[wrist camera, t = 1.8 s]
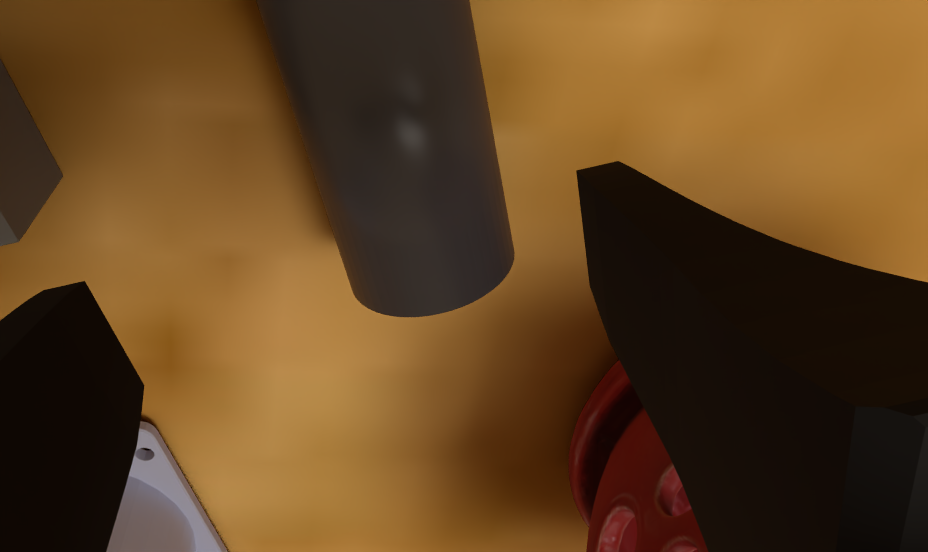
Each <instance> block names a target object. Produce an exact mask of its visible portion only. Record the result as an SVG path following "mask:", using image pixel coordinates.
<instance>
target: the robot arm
mask: <svg viewBox="0 0 928 552" xmlns="http://www.w3.org/2000/svg"><path fill="white" fill-rule="evenodd" d="M576 172H577V180H578V189H579V197H580V206H581V214H582V223H583V232H584V240H585V249H586V257H587V266H588V274H589V283H590V288H591V291H592V293H593V296H594V299H595V302H596V305H597V308H598V311H599V314H600V316H601V319H602V322H603V325H604V327H605V330H606V333H607V336H608V338H609V341H610V343H611V345H612V347H613V349H614V351H615V353H616V355H617V357H618V358H619V360H620V362H621V364H622V366H623V368H624V370H625V372H626V374H627V376H628V378H629V380H630V382H631V384H632V386H633V388H634V389H635V391H636V393H637V395H638V397H639V399H640V401H641V403H642V405H643V407H644V409H645V411H646V412H647V414H648V416H649V418H650V420H651V422H652V424H653V426H654V428H655V430H656V432H657V434H658V436H659V437H660V439H661V441H662V443H663V445H664V447H665V449H666V451H667V453H668V455H669V457H670V459H671V461H672V463H673V465H674V468H675V470H676V472H677V474H678V476H679V478H680V481H681V483H682V485H683V488H684V490H685V493H686V495H687V498H688V501H689V503H690V506H691V508H692V511H693V513H694V516H695V519H696V521H697V524H698V526H699V529H700V531H701V534H702V537H703V539H704V542H705V544H706V547H707V550H708V552H928V282H923V281H918V280H914V279H909V278H905V277H901V276H897V275H893V274H889V273H885V272H880V271H876V270H872V269H868V268H864V267H861V266H857V265H853V264H850V263H846V262H843V261H839V260H836V259H833V258H830V257H827V256H824V255H821V254H818V253H815V252H812V251H809V250H806V249H803V248H800V247H797V246H794V245H791V244H788V243H786V242H783V241H780V240H778V239H775V238H772V237H770V236H767V235H765V234H763V233H760V232H758V231H756V230H753V229H751V228H749V227H746V226H744V225H742V224H739V223H737V222H735V221H733V220H730V219H728V218H726V217H724V216H722V215H720V214H718V213H716V212H714V211H711V210H709V209H707V208H705V207H703V206H701V205H699V204H698V203H696V202H694V201H692V200H690V199H688V198H686V197H684V196H682V195H680V194H678V193H677V192H675V191H673V190H671V189H669V188H667V187H666V186H664V185H662V184H660V183H658V182H657V181H655V180H653V179H651V178H649V177H648V176H646V175H644V174H642V173H640V172H639V171H637V170H635V169H633V168H631V167H629V166H627V165H625V164H623V163H621V162H619V161H617V162H612V163H608V164H603V165H599V166H594V167H590V168H585V169H581V170H577V171H576ZM143 392H144V384H143V382H142V381H141V379H140V377H139V375H138V374H137V372H136V370H135V368H134V367H133V365H132V363H131V361H130V360H129V358H128V356H127V354H126V353H125V351H124V349H123V347H122V346H121V344H120V342H119V340H118V339H117V337H116V335H115V333H114V332H113V330H112V328H111V326H110V325H109V323H108V321H107V319H106V318H105V316H104V314H103V312H102V311H101V309H100V307H99V305H98V304H97V302H96V300H95V298H94V296H93V295H92V293H91V291H90V289H89V288H88V286H87V284H86V282H85V281H83V282H78V283H74V284H69V285H65V286H61V287H56V288H52V289H47V290H43V291H42V292H40V293H38V294H37V295H35V296H33V297H32V298H30V299H29V300H27V301H26V302H24V303H23V304H22V305H20V306H19V307H18V308H16V309H15V310H14V311H12V312H11V313H10V314H8V315H7V316H6V317H4V318H3V319H2V320H1V321H0V552H228V551H227V549H226V548H225V546H224V544H223V543H222V541H221V539H220V537H219V536H218V534H217V532H216V530H215V529H214V527H213V525H212V524H211V522H210V520H209V518H208V517H207V515H206V513H205V512H204V510H203V508H202V506H201V505H200V503H199V501H198V499H197V498H196V496H195V494H194V493H193V491H192V489H191V487H190V486H189V484H188V482H187V481H186V479H185V477H184V475H183V474H182V472H181V470H180V468H179V467H178V465H177V463H176V462H175V460H174V458H173V456H172V455H171V453H170V451H169V450H168V448H167V446H166V444H165V443H164V441H163V439H162V437H161V436H160V434H159V432H158V431H157V429H156V428H155V427H154V426H153V425H151V424H149V423H147V422H143V421H141V412H142V402H143ZM141 448H148V449H151V451H146V450H143V449H141Z"/></svg>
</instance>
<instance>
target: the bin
mask: <svg viewBox="0 0 928 552" xmlns="http://www.w3.org/2000/svg"><path fill="white" fill-rule="evenodd" d="M62 177H63V175H62V173H61V171H60V169H59V167H58V166H57V164H56V162H55V160H54V158H53V156H52V154H51V152H50V151H49V149H48V147H47V145H46V143H45V141H44V139H43V138H42V136H41V134H40V132H39V130H38V128H37V126H36V125H35V123H34V121H33V119H32V117H31V115H30V113H29V112H28V110H27V108H26V106H25V104H24V102H23V100H22V98H21V97H20V95H19V93H18V91H17V89H16V87H15V85H14V84H13V82H12V80H11V78H10V76H9V74H8V72H7V71H6V69H5V67H4V65H3V63H2V61H1V59H0V246H3V245H7V244H11V243H16V242H19V241H20V239H21V238H22V237H23V235H24V234H25V232H26V231H27V229H28V228H29V226H30V225H31V223H32V222H33V220H34V219H35V217H36V216H37V214H38V213H39V211H40V210H41V208H42V207H43V205H44V204H45V202H46V201H47V200H48V198H49V197H50V195H51V194H52V192H53V191H54V189H55V188H56V186H57V185H58V183H59V182H60V180H61V179H62Z"/></svg>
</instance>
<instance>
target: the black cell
mask: <svg viewBox="0 0 928 552" xmlns="http://www.w3.org/2000/svg"><path fill="white" fill-rule="evenodd" d="M256 2H257V5H258V8H259V11H260V14H261V17H262V20H263V23H264V26H265V29H266V32H267V35H268V38H269V41H270V44H271V47H272V50H273V53H274V56H275V59H276V62H277V65H278V68H279V71H280V74H281V77H282V80H283V83H284V86H285V89H286V92H287V95H288V98H289V101H290V104H291V107H292V110H293V113H294V116H295V119H296V122H297V125H298V128H299V131H300V134H301V137H302V140H303V143H304V146H305V149H306V152H307V155H308V158H309V161H310V164H311V167H312V170H313V173H314V176H315V180H316V183H317V186H318V189H319V192H320V195H321V198H322V201H323V204H324V207H325V210H326V213H327V216H328V219H329V222H330V225H331V228H332V231H333V234H334V237H335V240H336V243H337V246H338V249H339V252H340V255H341V258H342V261H343V264H344V267H345V270H346V273H347V276H348V279H349V282H350V285H351V288H352V291H353V294H354V295H355V297H356V298H357V300H358V301H359V302H360V303H361V304H362V305H364V306H365V307H367V308H369V309H371V310H373V311H375V312H378V313H381V314H384V315H390V316H397V317H422V316H430V315H436V314H440V313H444V312H448V311H452V310H455V309H457V308H460V307H463V306H465V305H468V304H470V303H472V302H474V301H476V300H478V299H479V298H481V297H483V296H484V295H486V294H487V293H489V292H490V291H492V290H493V289H494V288H495V287H496V286H498V285H499V284H500V283H501V282H502V281H503V279H504V278H505V277H506V276H507V274H508V273H509V271H510V269H511V267H512V265H513V261H514V247H513V242H512V236H511V231H510V225H509V219H508V214H507V208H506V203H505V197H504V191H503V186H502V180H501V175H500V169H499V164H498V158H497V152H496V147H495V141H494V136H493V130H492V125H491V119H490V113H489V108H488V102H487V97H486V91H485V86H484V80H483V74H482V69H481V63H480V58H479V52H478V46H477V41H476V35H475V30H474V24H473V19H472V13H471V7H470V2H469V0H256Z"/></svg>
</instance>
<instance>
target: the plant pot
mask: <svg viewBox="0 0 928 552" xmlns="http://www.w3.org/2000/svg"><path fill="white" fill-rule="evenodd" d="M569 479H570V486H571V490H572V494H573V497H574V501H575V503H576V506H577V508H578V510H579V512H580V514H581V516H582V518H583V520H584V521H585V523H586V524H587V525H588V527H589V532H588V542H587V551H586V552H708V550H707V547H706V544H705V542H704V539H703V537H702V534H701V531H700V529H699V526H698V524H697V521H696V519H695V516H694V513H693V511H692V508H691V506H690V503H689V501H688V498H687V495H686V493H685V490H684V488H683V485H682V483H681V481H680V478H679V476H678V474H677V472H676V470H675V468H674V465H673V463H672V461H671V459H670V457H669V455H668V453H667V451H666V449H665V447H664V445H663V443H662V441H661V439H660V437H659V436H658V434H657V432H656V430H655V428H654V426H653V424H652V422H651V420H650V418H649V416H648V414H647V412H646V411H645V409H644V407H643V405H642V403H641V401H640V399H639V397H638V395H637V393H636V391H635V389H634V388H633V386H632V384H631V382H630V380H629V378H628V376H627V374H626V372H625V370H624V368H623V366H622V364H621V362H620V360H618V361H617V362H616V363H615V364H614V365H613V366H612V368H611V369H610V370H609V371H608V372H607V373H606V375H605V376H604V377H603V379H602V380H601V381H600V382H599V384H598V385H597V387H596V388H595V390H594V391H593V393H592V395H591V396H590V398H589V399H588V401H587V403H586V404H585V406H584V408H583V410H582V412H581V414H580V416H579V418H578V420H577V423H576V426H575V430H574V433H573V437H572V441H571V445H570V451H569Z"/></svg>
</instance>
